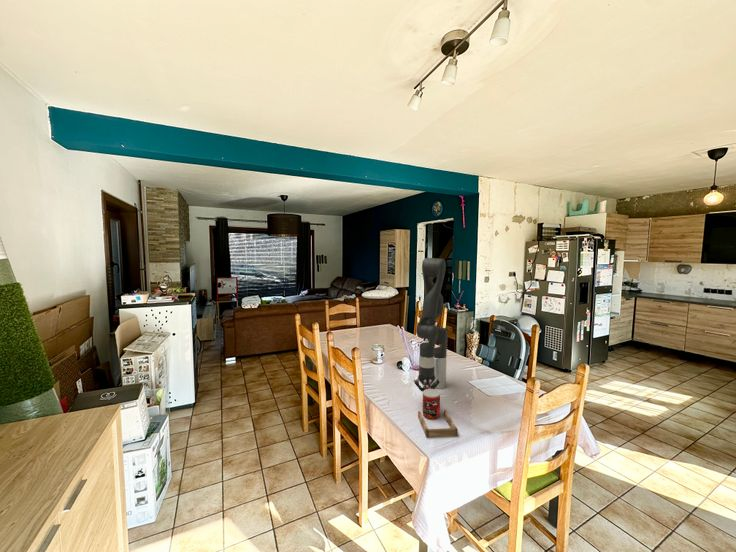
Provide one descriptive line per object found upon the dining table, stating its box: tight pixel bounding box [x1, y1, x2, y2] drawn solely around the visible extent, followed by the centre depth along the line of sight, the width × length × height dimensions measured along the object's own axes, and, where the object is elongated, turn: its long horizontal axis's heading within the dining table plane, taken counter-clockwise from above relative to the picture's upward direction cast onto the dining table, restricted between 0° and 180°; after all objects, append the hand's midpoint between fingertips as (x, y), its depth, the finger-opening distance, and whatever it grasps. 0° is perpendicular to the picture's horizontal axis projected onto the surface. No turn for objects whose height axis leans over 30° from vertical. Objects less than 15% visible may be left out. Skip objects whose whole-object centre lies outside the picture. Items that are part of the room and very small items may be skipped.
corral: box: [417, 409, 459, 439], centre depth 133 cm, size 15×13×3 cm
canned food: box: [422, 388, 441, 420], centre depth 142 cm, size 8×8×11 cm
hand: (426, 398), depth 151 cm, fingers closed
